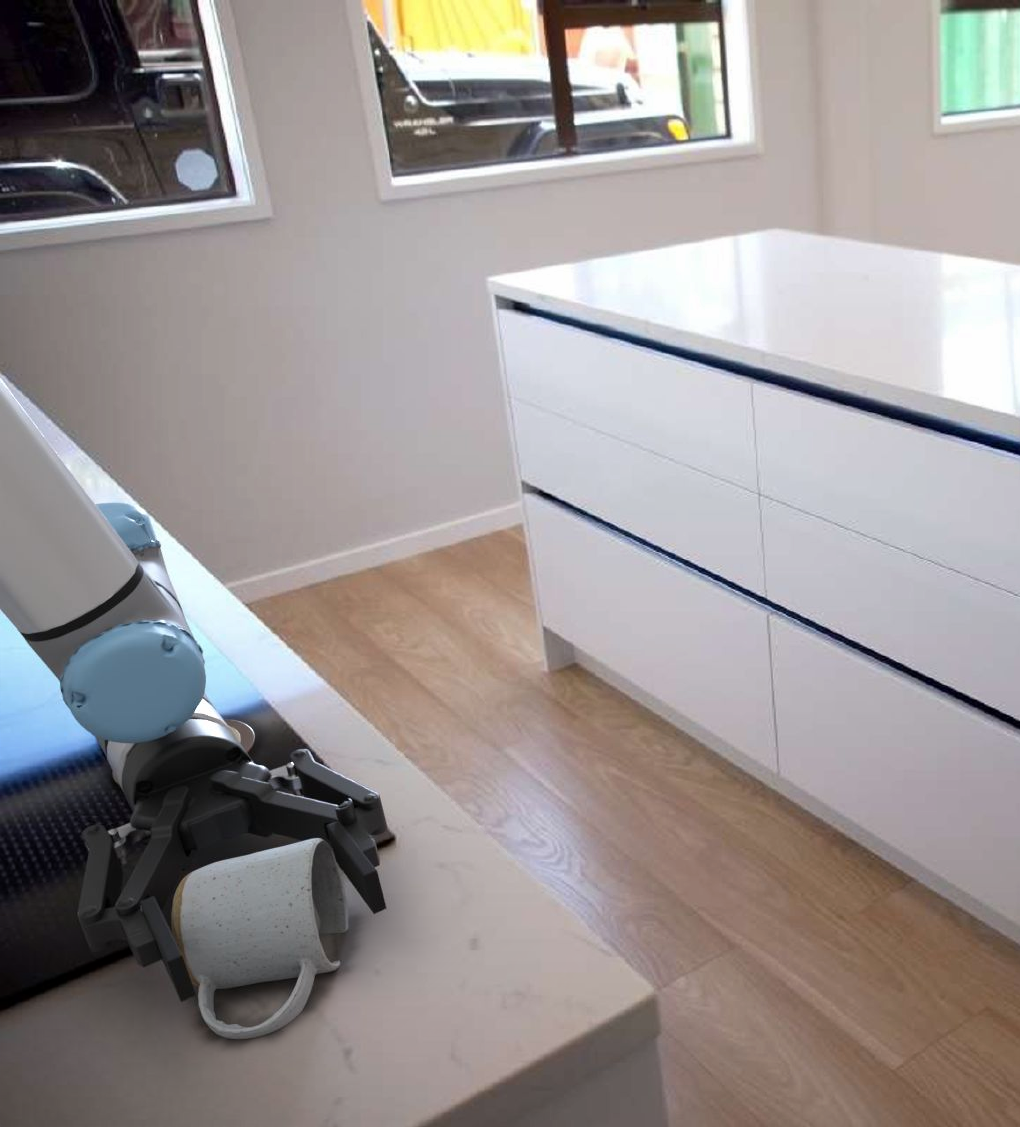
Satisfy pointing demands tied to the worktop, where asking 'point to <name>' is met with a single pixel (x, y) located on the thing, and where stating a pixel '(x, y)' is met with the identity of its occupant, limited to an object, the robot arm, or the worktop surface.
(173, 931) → the ceramic mug
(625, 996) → the worktop surface
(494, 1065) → the worktop surface
